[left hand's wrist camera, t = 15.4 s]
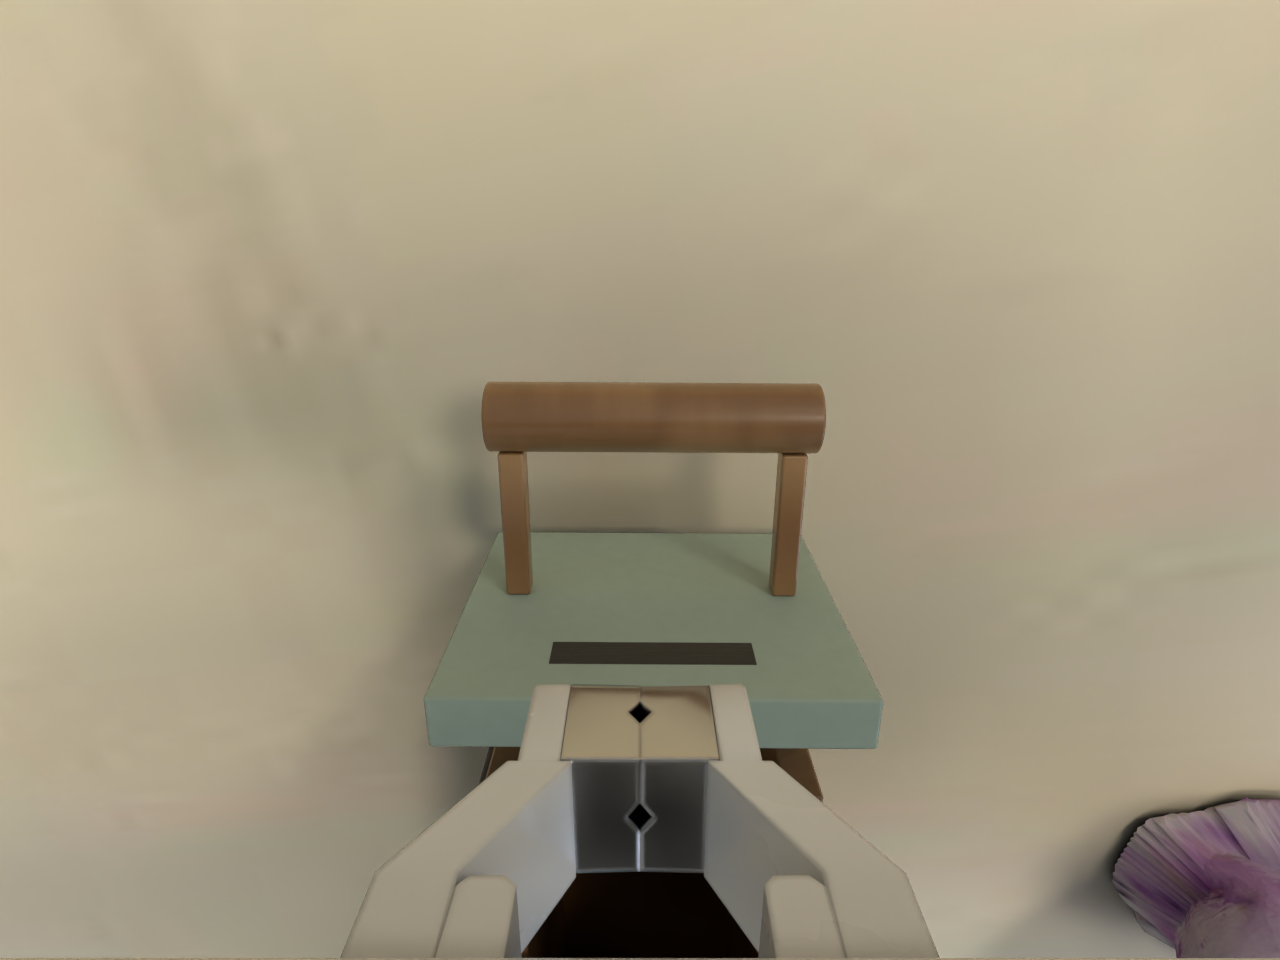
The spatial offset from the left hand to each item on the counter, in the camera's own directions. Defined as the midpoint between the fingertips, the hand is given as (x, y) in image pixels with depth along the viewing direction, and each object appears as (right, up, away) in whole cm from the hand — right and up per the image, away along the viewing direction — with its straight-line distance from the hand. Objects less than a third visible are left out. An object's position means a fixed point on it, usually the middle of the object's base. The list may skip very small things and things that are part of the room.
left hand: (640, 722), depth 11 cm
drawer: (0, -4, +13) cm, 14 cm away
